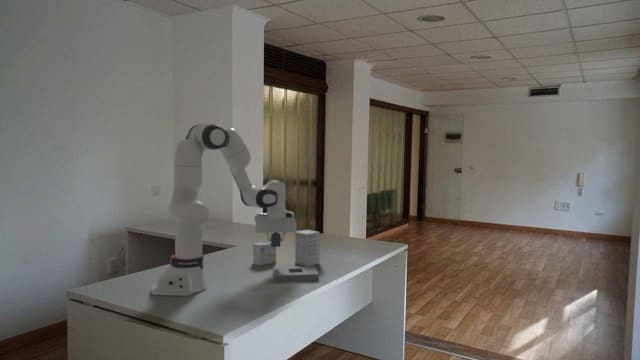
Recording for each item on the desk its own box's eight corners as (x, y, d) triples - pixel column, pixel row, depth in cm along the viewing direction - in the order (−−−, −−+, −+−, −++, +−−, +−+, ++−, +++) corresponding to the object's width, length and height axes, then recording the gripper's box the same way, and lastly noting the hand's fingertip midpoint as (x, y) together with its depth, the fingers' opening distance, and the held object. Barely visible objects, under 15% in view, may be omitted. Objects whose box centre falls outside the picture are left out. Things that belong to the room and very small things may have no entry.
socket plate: (275, 282, 200) (275, 275, 200) (272, 273, 214) (272, 267, 214) (318, 280, 204) (318, 274, 203) (313, 271, 217) (313, 265, 217)
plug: (271, 246, 215) (271, 230, 215) (270, 244, 220) (271, 228, 219) (280, 246, 216) (280, 230, 215) (279, 244, 220) (279, 228, 220)
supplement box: (320, 263, 232) (320, 231, 230) (307, 267, 225) (307, 234, 224) (307, 260, 239) (307, 229, 237) (294, 263, 232) (294, 231, 231)
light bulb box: (268, 259, 238) (268, 240, 237) (276, 262, 233) (276, 242, 232) (252, 263, 231) (252, 243, 230) (260, 266, 226) (260, 245, 225)
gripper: (254, 214, 212) (254, 242, 213) (297, 214, 215) (296, 242, 216) (254, 212, 218) (254, 240, 219) (295, 212, 222) (295, 239, 223)
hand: (275, 241), depth 218 cm, fingers closed on plug, 4 cm apart
